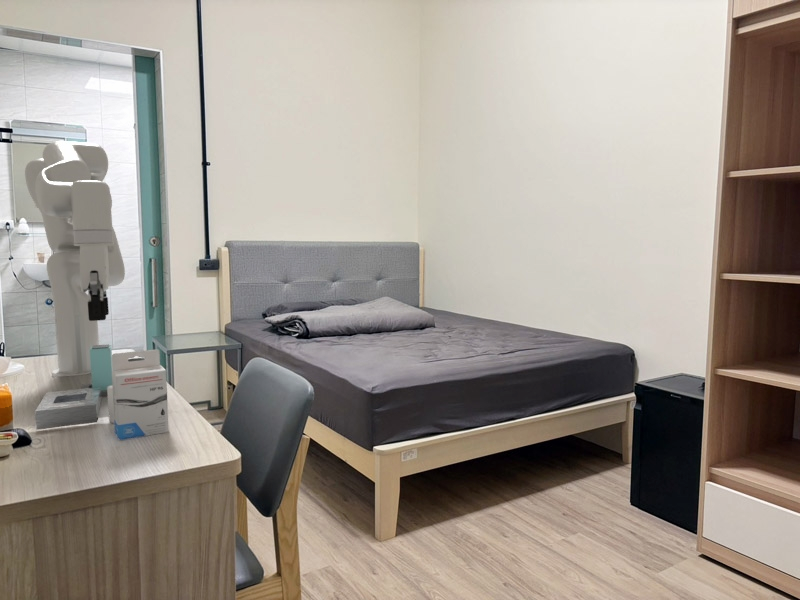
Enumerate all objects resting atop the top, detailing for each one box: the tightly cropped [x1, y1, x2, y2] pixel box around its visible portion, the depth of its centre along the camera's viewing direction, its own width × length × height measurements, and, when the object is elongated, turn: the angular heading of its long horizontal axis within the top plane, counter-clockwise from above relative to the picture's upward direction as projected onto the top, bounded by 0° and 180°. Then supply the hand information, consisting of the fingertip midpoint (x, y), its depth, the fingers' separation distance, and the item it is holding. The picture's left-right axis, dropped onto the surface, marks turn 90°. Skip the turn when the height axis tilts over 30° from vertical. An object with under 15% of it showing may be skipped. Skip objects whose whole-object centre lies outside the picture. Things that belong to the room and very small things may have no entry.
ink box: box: [112, 348, 170, 441], centre depth 105 cm, size 8×5×15 cm, turn 123°
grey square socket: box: [80, 383, 108, 398], centre depth 130 cm, size 9×9×2 cm
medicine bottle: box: [107, 357, 145, 425], centre depth 112 cm, size 7×7×12 cm
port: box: [34, 387, 103, 430], centre depth 116 cm, size 14×10×4 cm
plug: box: [90, 343, 113, 391], centre depth 129 cm, size 4×4×10 cm
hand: (99, 317), depth 128 cm, fingers open, 9 cm apart
